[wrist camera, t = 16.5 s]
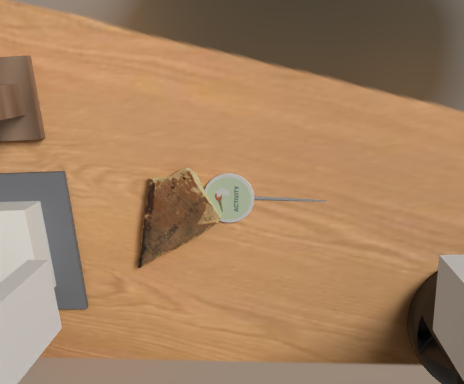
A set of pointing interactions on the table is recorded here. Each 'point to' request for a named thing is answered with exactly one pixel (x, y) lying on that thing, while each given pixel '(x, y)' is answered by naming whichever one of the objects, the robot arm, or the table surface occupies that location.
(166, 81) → the table surface
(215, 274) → the table surface
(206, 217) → the shard
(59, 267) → the rubber mat
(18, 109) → the walnut stand
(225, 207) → the sign
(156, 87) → the table surface
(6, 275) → the card box
